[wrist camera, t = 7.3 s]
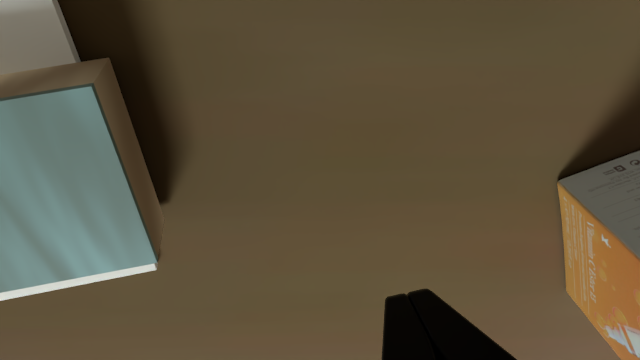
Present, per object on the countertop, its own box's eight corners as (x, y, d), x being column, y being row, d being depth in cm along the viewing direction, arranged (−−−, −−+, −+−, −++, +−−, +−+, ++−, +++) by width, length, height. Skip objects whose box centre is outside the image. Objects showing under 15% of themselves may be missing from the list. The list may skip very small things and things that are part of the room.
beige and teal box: (91, 86, 15) (-191, 132, 15) (157, 262, 19) (-66, 305, 18) (109, 57, 18) (-134, 96, 17) (164, 219, 21) (-33, 256, 21)
